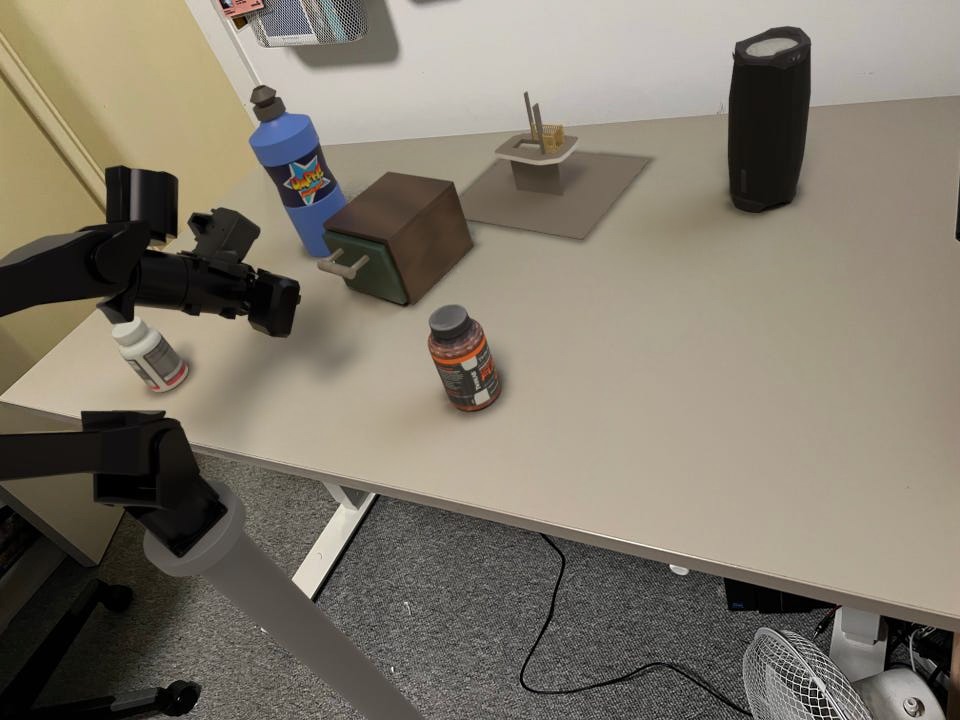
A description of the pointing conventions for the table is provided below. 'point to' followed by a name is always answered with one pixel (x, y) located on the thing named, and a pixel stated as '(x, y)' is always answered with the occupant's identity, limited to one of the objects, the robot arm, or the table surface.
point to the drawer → (363, 266)
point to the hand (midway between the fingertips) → (299, 299)
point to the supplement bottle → (462, 358)
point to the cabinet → (410, 227)
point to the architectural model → (548, 183)
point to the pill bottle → (150, 355)
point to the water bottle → (296, 167)
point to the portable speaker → (768, 116)
